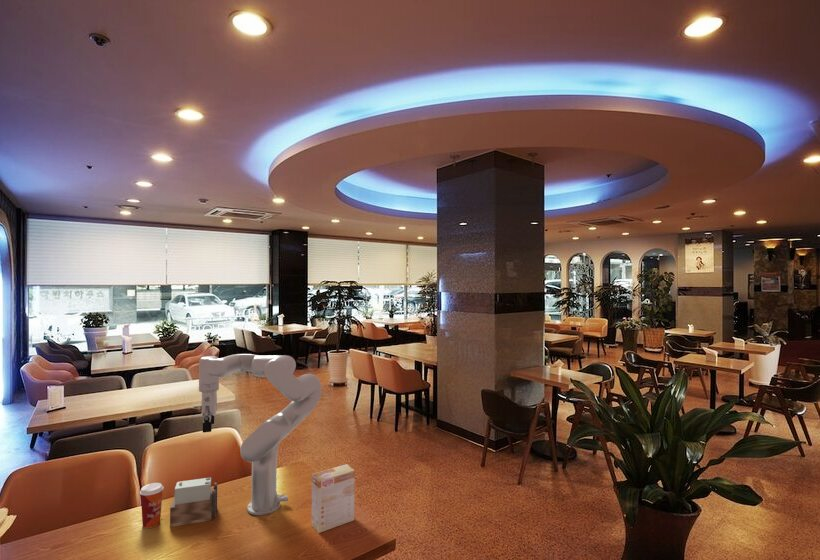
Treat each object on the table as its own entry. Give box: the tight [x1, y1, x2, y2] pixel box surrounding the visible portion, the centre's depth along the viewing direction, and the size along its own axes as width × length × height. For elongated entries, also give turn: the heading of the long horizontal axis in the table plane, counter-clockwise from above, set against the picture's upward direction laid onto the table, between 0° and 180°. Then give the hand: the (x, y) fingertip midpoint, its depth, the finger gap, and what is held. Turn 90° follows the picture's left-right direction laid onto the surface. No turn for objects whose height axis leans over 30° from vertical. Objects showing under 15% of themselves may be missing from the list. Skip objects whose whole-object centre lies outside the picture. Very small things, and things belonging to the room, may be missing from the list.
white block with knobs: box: [174, 477, 212, 505], centre depth 169 cm, size 12×6×7 cm, turn 110°
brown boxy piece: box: [169, 482, 218, 527], centre depth 169 cm, size 15×10×10 cm, turn 108°
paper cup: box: [139, 482, 164, 529], centre depth 163 cm, size 8×8×14 cm
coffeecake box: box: [311, 463, 356, 534], centre depth 166 cm, size 15×7×20 cm, turn 126°
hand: (208, 427), depth 180 cm, fingers open, 9 cm apart
